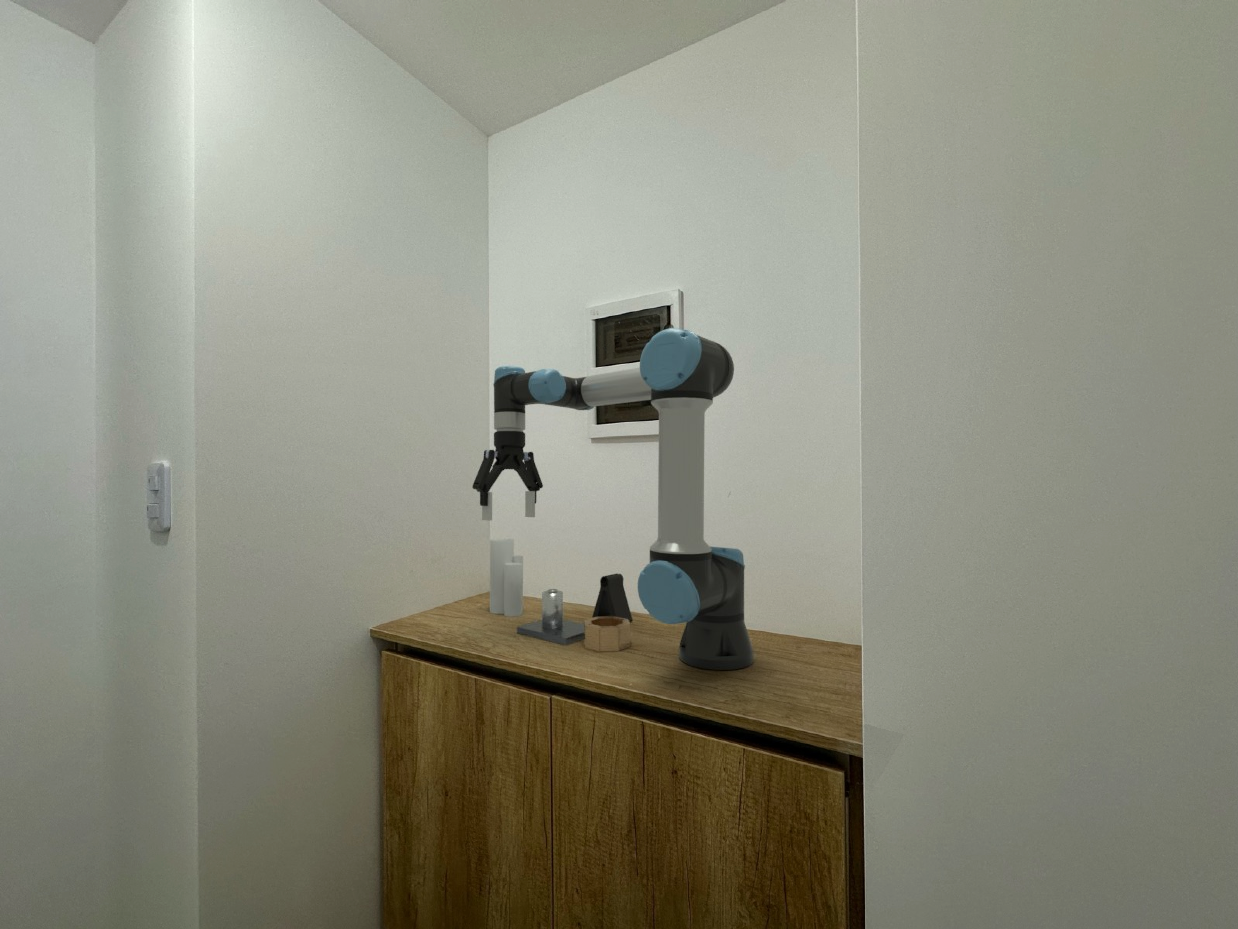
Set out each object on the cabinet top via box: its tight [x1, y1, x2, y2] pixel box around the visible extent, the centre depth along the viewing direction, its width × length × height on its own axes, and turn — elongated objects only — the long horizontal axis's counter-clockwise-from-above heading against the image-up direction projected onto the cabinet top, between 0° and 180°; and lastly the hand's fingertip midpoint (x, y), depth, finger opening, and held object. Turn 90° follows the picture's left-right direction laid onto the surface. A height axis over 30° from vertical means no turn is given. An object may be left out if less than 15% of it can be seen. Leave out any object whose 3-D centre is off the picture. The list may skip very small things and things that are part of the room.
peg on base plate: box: [516, 588, 584, 646], centre depth 134 cm, size 16×12×10 cm
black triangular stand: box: [591, 573, 633, 623], centre depth 146 cm, size 9×6×12 cm, turn 50°
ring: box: [583, 616, 631, 653], centre depth 125 cm, size 10×10×5 cm
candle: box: [489, 538, 524, 618], centre depth 155 cm, size 11×7×20 cm, turn 56°
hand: (509, 518), depth 135 cm, fingers open, 13 cm apart
